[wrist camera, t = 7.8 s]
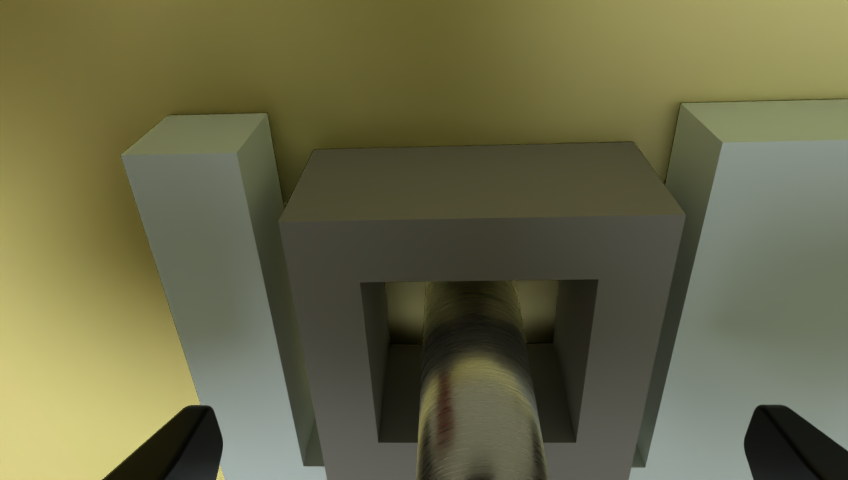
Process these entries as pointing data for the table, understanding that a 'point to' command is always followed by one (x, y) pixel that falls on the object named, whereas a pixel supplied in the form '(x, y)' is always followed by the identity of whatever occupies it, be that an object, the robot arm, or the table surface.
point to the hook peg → (477, 387)
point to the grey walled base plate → (683, 320)
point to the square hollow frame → (481, 261)
